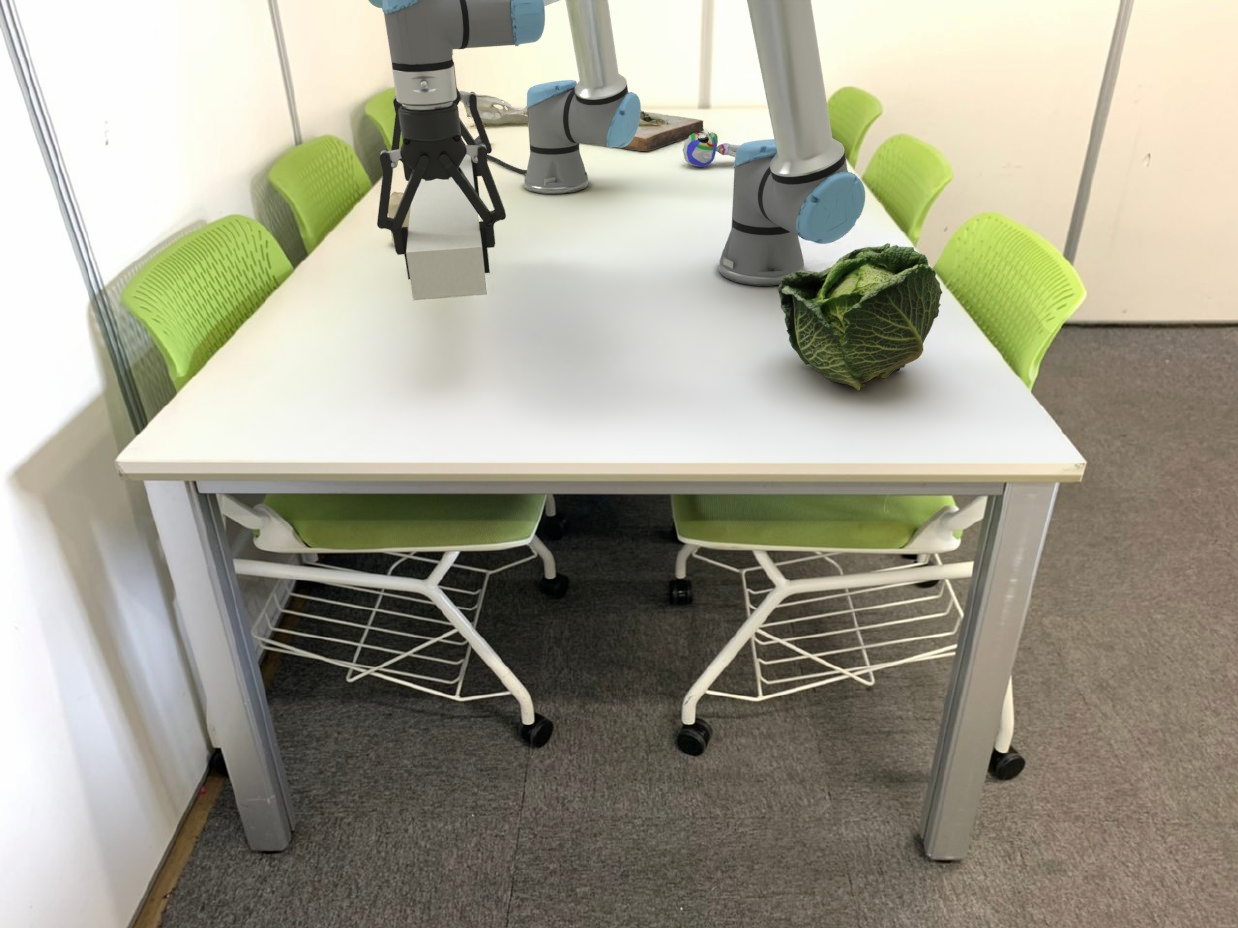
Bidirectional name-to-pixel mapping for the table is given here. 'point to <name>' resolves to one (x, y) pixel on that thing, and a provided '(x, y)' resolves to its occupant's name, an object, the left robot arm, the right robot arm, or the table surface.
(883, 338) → the vegetable
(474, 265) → the slab
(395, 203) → the candle
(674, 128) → the plaque
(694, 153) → the toy
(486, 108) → the anatomical model
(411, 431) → the table surface
